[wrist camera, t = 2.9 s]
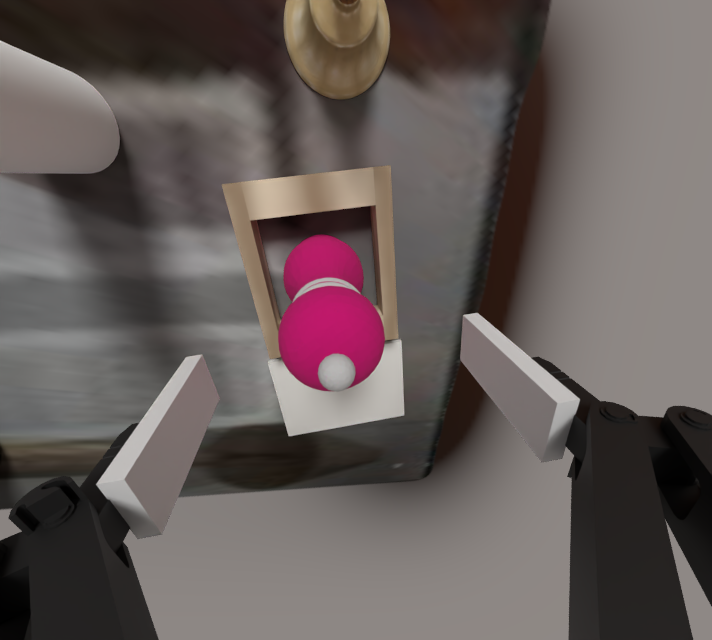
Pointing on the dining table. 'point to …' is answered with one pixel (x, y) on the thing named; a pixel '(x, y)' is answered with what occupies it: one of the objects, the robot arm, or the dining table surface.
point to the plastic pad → (341, 396)
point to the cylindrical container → (51, 119)
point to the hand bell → (337, 43)
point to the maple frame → (312, 197)
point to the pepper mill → (328, 317)
